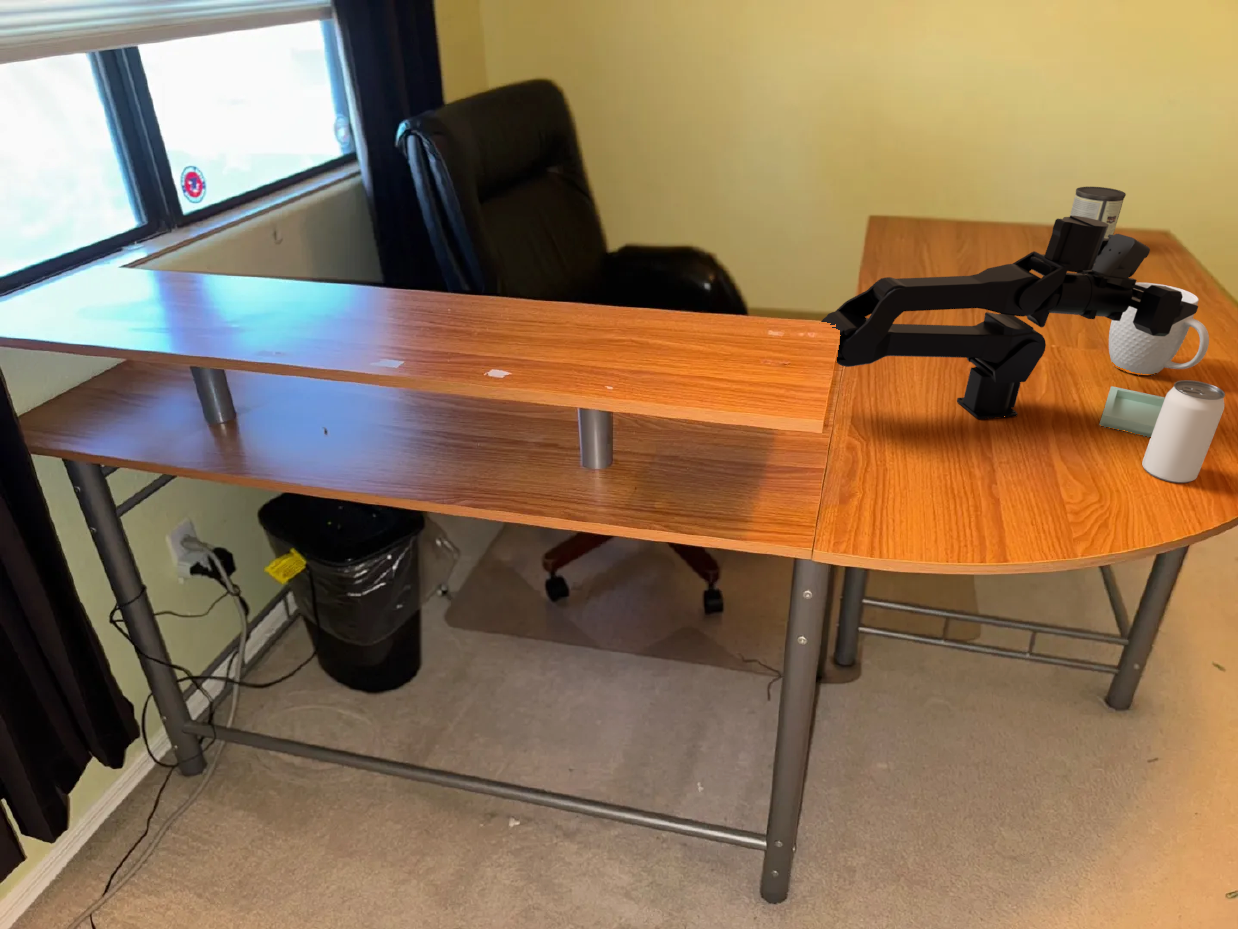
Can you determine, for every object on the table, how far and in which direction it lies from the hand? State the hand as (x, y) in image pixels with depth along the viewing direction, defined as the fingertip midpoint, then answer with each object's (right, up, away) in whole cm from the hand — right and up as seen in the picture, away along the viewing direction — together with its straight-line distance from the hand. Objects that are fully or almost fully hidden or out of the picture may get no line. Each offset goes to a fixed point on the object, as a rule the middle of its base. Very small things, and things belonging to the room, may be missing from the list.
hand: (1172, 300), depth 128 cm
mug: (+6, -8, +19) cm, 21 cm away
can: (-8, -25, -11) cm, 28 cm away
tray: (-2, -17, +2) cm, 18 cm away
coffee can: (+30, +26, +81) cm, 90 cm away
